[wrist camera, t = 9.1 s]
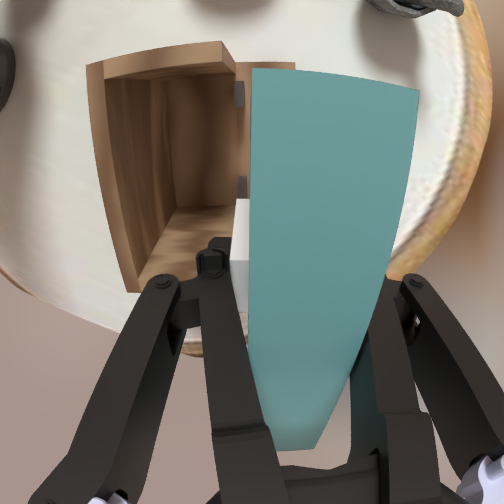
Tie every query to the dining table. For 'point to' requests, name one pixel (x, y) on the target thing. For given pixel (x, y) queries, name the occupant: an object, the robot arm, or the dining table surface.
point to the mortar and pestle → (418, 7)
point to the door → (319, 234)
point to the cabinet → (171, 152)
